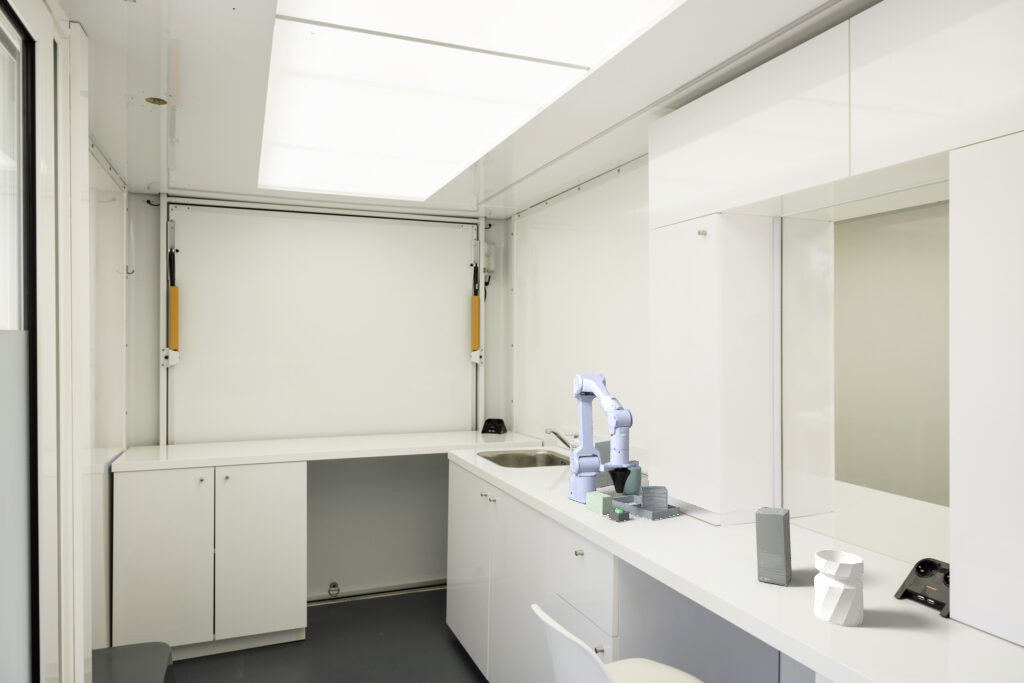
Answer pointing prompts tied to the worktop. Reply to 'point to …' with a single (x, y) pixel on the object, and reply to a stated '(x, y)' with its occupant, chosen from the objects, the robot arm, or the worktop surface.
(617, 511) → the button
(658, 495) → the medicine box
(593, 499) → the carton
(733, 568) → the worktop surface
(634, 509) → the grey divided tray
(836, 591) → the white faceted vase
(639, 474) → the cup
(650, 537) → the worktop surface
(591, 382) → the robot arm
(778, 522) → the skincare box
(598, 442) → the supplement box
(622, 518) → the button housing
